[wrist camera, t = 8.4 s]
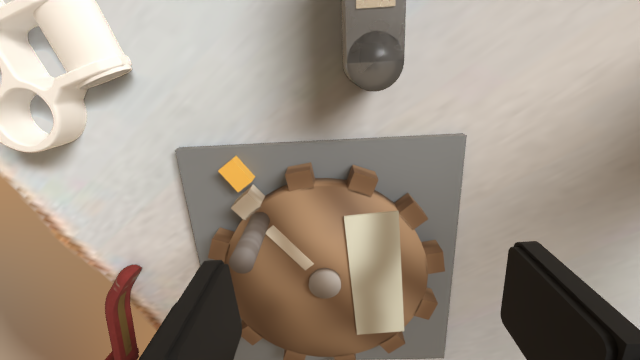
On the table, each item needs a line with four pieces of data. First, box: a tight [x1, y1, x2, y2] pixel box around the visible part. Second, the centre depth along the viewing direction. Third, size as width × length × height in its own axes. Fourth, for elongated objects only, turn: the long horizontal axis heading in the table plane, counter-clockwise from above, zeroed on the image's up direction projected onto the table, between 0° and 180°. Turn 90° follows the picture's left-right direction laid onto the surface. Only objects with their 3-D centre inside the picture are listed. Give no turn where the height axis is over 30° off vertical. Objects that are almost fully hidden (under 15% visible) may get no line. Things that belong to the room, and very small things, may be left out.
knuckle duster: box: [0, 0, 132, 153], centre depth 23 cm, size 3×18×15 cm
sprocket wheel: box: [208, 162, 445, 360], centre depth 26 cm, size 21×21×8 cm
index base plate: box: [175, 133, 467, 360], centre depth 30 cm, size 24×24×2 cm
